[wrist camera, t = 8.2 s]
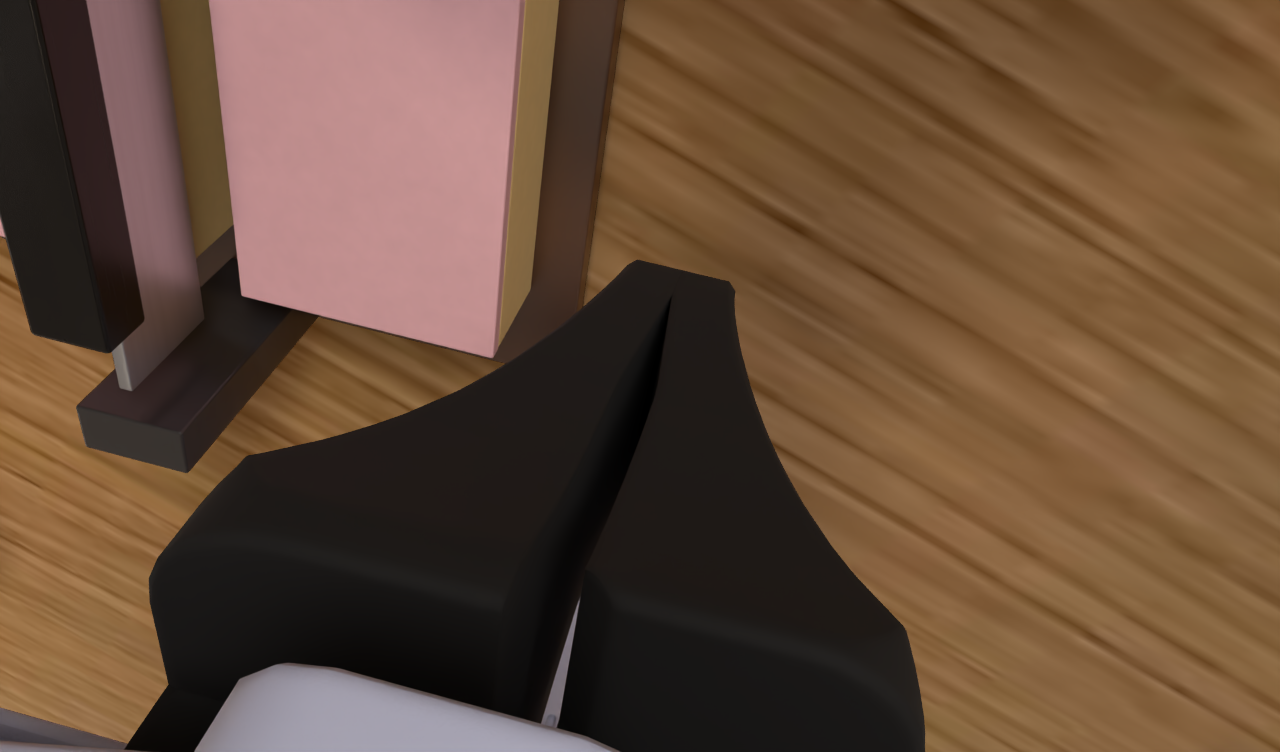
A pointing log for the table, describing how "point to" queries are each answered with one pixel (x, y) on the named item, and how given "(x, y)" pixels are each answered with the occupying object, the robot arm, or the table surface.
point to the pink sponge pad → (369, 154)
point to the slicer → (265, 333)
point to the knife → (96, 180)
